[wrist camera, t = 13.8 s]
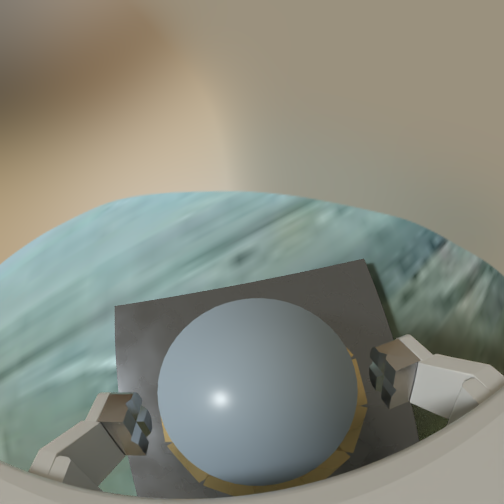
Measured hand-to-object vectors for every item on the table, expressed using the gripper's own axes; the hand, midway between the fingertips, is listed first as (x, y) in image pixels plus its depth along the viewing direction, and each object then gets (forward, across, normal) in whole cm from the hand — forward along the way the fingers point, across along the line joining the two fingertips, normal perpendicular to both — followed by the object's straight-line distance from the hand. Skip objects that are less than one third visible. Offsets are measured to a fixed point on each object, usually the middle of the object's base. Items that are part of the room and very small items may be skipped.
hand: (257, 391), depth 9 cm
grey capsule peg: (+5, 0, +5) cm, 7 cm away
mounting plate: (+6, 0, +6) cm, 8 cm away
